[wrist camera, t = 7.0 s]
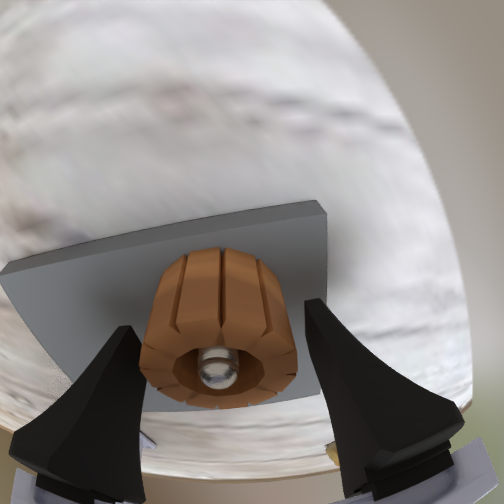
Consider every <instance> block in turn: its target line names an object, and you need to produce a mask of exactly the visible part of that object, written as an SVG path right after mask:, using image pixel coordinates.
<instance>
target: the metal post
mask: <svg viewBox="0 0 504 504" xmlns="http://www.w3.org/2000/svg"><path fill="white" fill-rule="evenodd" d="M197 371H198V375H199V378H200V379H201V381H202V382H203V383H204V384H205V385H206V386H208V387H210V388H213V389H225V388H228V387H229V386H231V385H232V384H233V383H234V382H235V381H236V380H237V378H238V375H239V357H238V349H234V348H229V347H224V346H213V347H204V348H199V350H198V367H197Z"/></svg>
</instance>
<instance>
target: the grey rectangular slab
mask: <svg viewBox="0 0 504 504" xmlns="http://www.w3.org/2000/svg"><path fill="white" fill-rule="evenodd" d="M214 247H220V251H221V255H223V253H224V250H225V248H226V247H228V248H231V249H234V250H238V251H241V252H244V253H248V254H251V255H254V256H255V260H256V261H257V260H258V259H261V260H262V261H263V263H264V264H265V265H266V266H267V267H268V268H269V269H270V270H271V271H272V272H273V273H274V274H275V275H276V276H277V278H278V281H279V283H280V286H281V290H282V294H283V298H284V302H285V306H286V310H287V314H288V317H289V321H290V325H291V329H292V333H293V337H294V341H295V345H296V349H297V357H298V372H296V377H295V378H294V379H293V380H292V382H291V383H290V384H289V385H288V386H287V387H286V388H285V389H284V390H283V392H277V393H278V395H277V396H274V397H272V398H270V399H267V400H265V401H263V402H260V403H258V404H255V405H263V404H269V403H276V402H282V401H288V400H293V399H298V398H304V397H308V396H313V395H318V394H320V390H321V386H320V383H319V380H318V378H317V375H316V372H315V369H314V366H313V364H312V361H311V358H310V354H309V350H308V346H307V341H306V337H305V314H304V301H305V300H310V299H316V298H320V299H322V301H323V302H324V303H325V304H326V299H327V213H326V212H325V211H324V209H323V208H322V207H321V206H320V204H319V203H318V202H317V201H316V200H313V201H306V202H299V203H292V204H285V205H279V206H272V207H266V208H260V209H253V210H247V211H241V212H235V213H230V214H224V215H218V216H213V217H207V218H202V219H196V220H191V221H186V222H180V223H175V224H170V225H165V226H160V227H155V228H150V229H145V230H141V231H136V232H131V233H127V234H122V235H117V236H113V237H109V238H104V239H100V240H95V241H91V242H87V243H83V244H78V245H74V246H70V247H66V248H62V249H58V250H54V251H50V252H46V253H43V254H39V255H35V256H31V257H28V258H24V259H20V260H17V261H13V262H9V263H8V264H7V265H6V266H5V267H4V268H3V270H2V271H1V272H0V284H1V286H2V288H3V289H4V291H5V293H6V294H7V296H8V298H9V299H10V301H11V303H12V304H13V306H14V307H15V309H16V310H17V312H18V313H19V315H20V316H21V318H22V319H23V321H24V322H25V324H26V325H27V327H28V328H29V329H30V331H31V332H32V333H33V335H34V336H35V338H36V339H37V340H38V341H39V343H40V344H41V345H42V347H43V348H44V349H45V350H46V352H47V353H48V354H49V355H50V357H51V358H52V359H53V360H54V361H55V363H56V364H57V365H58V366H59V367H60V368H61V370H62V371H63V372H64V373H65V374H66V375H67V376H68V377H69V378H70V380H71V381H72V382H73V383H74V382H75V381H76V380H77V379H78V378H79V376H80V375H81V374H82V373H83V371H84V370H85V369H86V368H87V367H88V365H89V364H90V363H91V362H92V360H93V359H94V358H95V356H96V355H97V354H98V352H99V351H100V350H101V348H102V347H103V346H104V344H105V343H106V342H107V340H108V339H109V338H110V336H111V335H112V334H113V333H114V331H115V330H116V329H117V328H118V327H119V326H124V325H131V326H132V328H133V329H134V331H135V333H136V335H137V336H138V338H139V340H140V341H141V343H143V339H144V335H145V331H146V328H147V324H148V320H149V316H150V313H151V309H152V305H153V302H154V298H155V295H156V292H157V288H158V285H159V281H160V278H161V275H163V273H164V270H165V269H167V268H168V267H169V266H170V265H171V264H173V263H174V262H175V261H176V260H177V259H179V258H180V257H181V256H182V255H186V256H187V257H188V256H189V252H191V251H197V250H202V249H208V248H214ZM255 405H252V404H250V403H248V406H255ZM217 409H219V407H218V405H217V406H216V407H215V409H209V408H202V407H197V406H191V405H186V401H184V402H181V403H180V402H178V401H176V400H174V399H172V398H170V397H168V396H166V395H164V394H162V393H160V392H158V391H157V388H153V387H152V386H151V384H150V383H149V382H148V380H147V384H146V390H145V396H144V401H143V407H142V411H144V412H179V411H203V410H217Z"/></svg>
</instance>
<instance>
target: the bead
mask: <svg viewBox="0 0 504 504" xmlns="http://www.w3.org/2000/svg"><path fill="white" fill-rule="evenodd" d="M213 346H224V347H229V348H234V349H238V357H239V375H238V378H237V380H236V381H235V382H234V383H233V384H232V385H231V386H229V387H228V388H225V389H213V388H210V387H208V386H206V385H205V384H204V383H203V382H202V381H201V379H200V378H199V375H198V371H197V367H198V350H199V348H204V347H213ZM139 366H140V367H141V368H140V371H141V372H142V374H143V375H144V376H145V378H146V379H147V380H148V382H149V383H150V384H151V386H152V387H153V388H157V391H158V392H160V393H162V394H164V395H166V396H168V397H170V398H172V399H174V400H176V401H178V402H180V403H181V402H184V401H186V405H191V406H197V407H202V408H209V409H215V407H216V406H217V405H218V407H219V409H231V408H240V407H248V403H250V404H252V405H255V404H258V403H260V402H263V401H265V400H267V399H270V398H272V397H274V396H277V395H278V393H277V392H283V390H284V389H285V388H286V387H287V386H288V385H289V384H290V383H291V382H292V380H293V379H294V378H295V377H296V372H298V357H297V349H296V345H295V341H294V337H293V333H292V329H291V325H290V321H289V317H288V314H287V310H286V306H285V302H284V298H283V294H282V290H281V286H280V283H279V281H278V278H277V276H276V275H275V274H274V273H273V272H272V271H271V270H270V269H269V268H268V267H267V266H266V265H265V264H264V263H263V261H262V260H261V259H258V260H257V261H256V260H255V256H254V255H251V254H248V253H244V252H241V251H238V250H234V249H231V248H228V247H226V248H225V250H224V253H223V255H221V251H220V247H214V248H208V249H202V250H197V251H191V252H189V256H188V257H187V256H186V255H182V256H181V257H180V258H179V259H177V260H176V261H175V262H174V263H173V264H171V265H170V266H169V267H168V268H167V269H165V270H164V273H163V275H161V278H160V281H159V285H158V288H157V292H156V295H155V298H154V302H153V305H152V309H151V313H150V316H149V320H148V324H147V328H146V331H145V335H144V339H143V343H142V348H141V354H140V361H139Z"/></svg>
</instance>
